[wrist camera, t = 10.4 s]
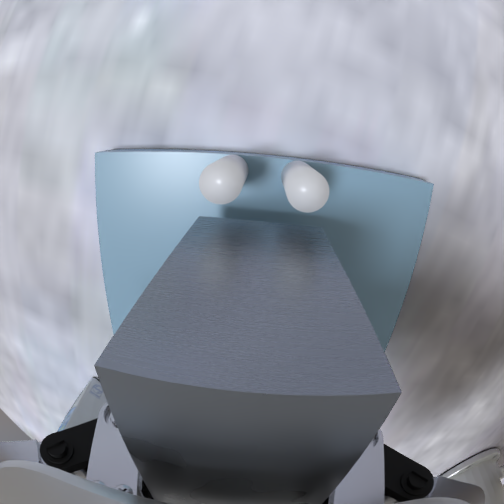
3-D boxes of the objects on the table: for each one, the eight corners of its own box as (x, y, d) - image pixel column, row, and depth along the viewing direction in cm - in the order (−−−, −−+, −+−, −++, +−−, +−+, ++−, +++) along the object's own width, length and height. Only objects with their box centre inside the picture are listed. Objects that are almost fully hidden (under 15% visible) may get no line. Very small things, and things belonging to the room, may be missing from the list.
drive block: (322, 227, 10) (404, 391, 3) (281, 418, 14) (283, 543, 7) (197, 215, 10) (91, 363, 3) (200, 411, 14) (175, 534, 7)
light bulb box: (92, 373, 18) (27, 494, 8) (170, 422, 19) (136, 547, 9) (63, 418, 21) (20, 501, 11) (121, 455, 23) (91, 540, 13)
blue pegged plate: (417, 178, 12) (475, 201, 8) (350, 398, 17) (363, 453, 13) (111, 149, 12) (51, 161, 8) (136, 378, 17) (113, 430, 13)
